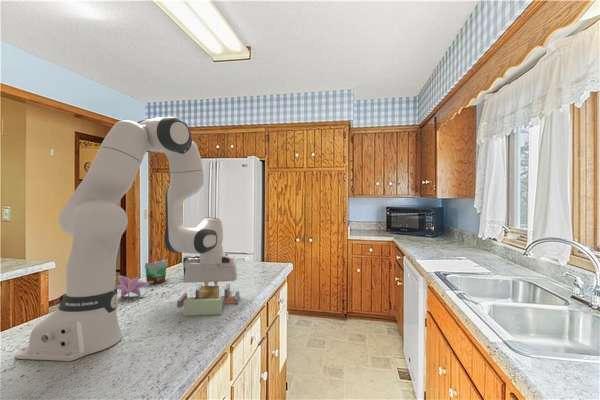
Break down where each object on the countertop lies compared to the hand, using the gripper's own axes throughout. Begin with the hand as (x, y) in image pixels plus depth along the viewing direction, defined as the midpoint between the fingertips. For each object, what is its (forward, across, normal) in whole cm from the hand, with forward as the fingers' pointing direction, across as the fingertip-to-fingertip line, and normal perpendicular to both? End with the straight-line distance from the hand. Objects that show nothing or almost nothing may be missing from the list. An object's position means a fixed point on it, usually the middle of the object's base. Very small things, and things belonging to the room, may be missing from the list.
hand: (211, 292), depth 119 cm
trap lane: (+2, 0, -5) cm, 5 cm away
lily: (+2, -31, +2) cm, 32 cm away
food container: (+2, -28, +25) cm, 37 cm away
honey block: (+2, 0, -5) cm, 5 cm away
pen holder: (+2, -14, +31) cm, 34 cm away
